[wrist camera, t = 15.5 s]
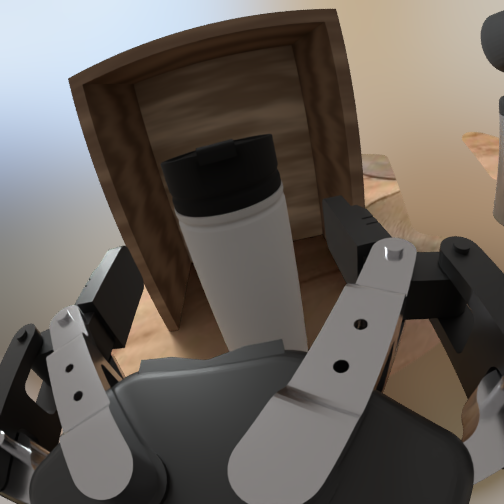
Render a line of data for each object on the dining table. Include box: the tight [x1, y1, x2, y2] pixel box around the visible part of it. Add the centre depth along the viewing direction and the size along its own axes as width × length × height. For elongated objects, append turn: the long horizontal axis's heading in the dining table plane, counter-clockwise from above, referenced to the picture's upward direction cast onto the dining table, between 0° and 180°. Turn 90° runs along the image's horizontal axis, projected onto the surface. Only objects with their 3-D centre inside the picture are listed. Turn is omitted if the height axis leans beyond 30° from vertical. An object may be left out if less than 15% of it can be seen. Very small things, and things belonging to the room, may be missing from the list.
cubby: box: [68, 9, 365, 331], centre depth 31 cm, size 15×22×28 cm
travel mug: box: [160, 134, 308, 352], centre depth 20 cm, size 6×7×20 cm
